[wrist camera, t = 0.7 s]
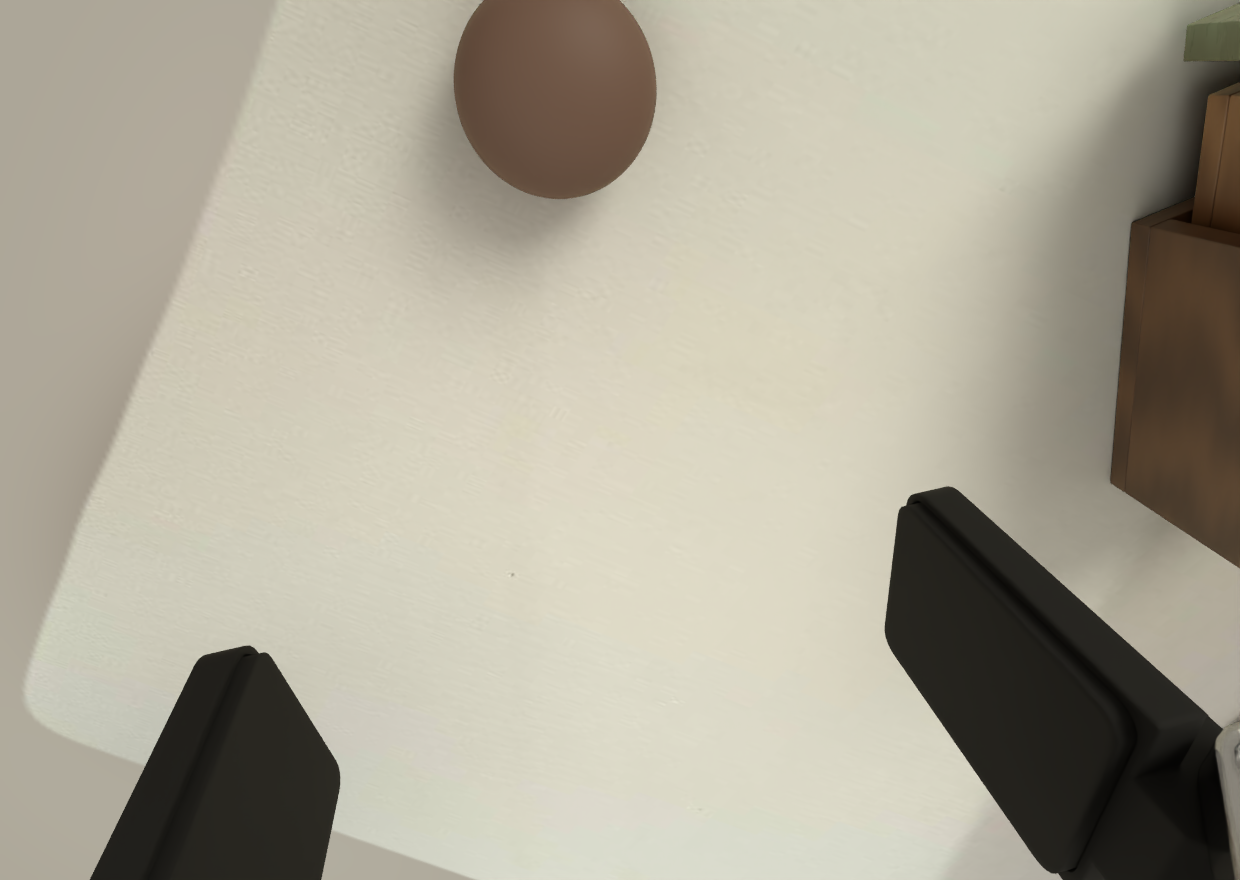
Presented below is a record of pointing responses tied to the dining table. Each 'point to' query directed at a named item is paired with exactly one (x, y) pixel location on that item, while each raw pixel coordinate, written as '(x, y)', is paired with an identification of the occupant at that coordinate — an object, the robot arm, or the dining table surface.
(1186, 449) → the cabinet
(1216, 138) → the drawer
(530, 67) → the egg
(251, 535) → the dining table surface
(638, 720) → the dining table surface
